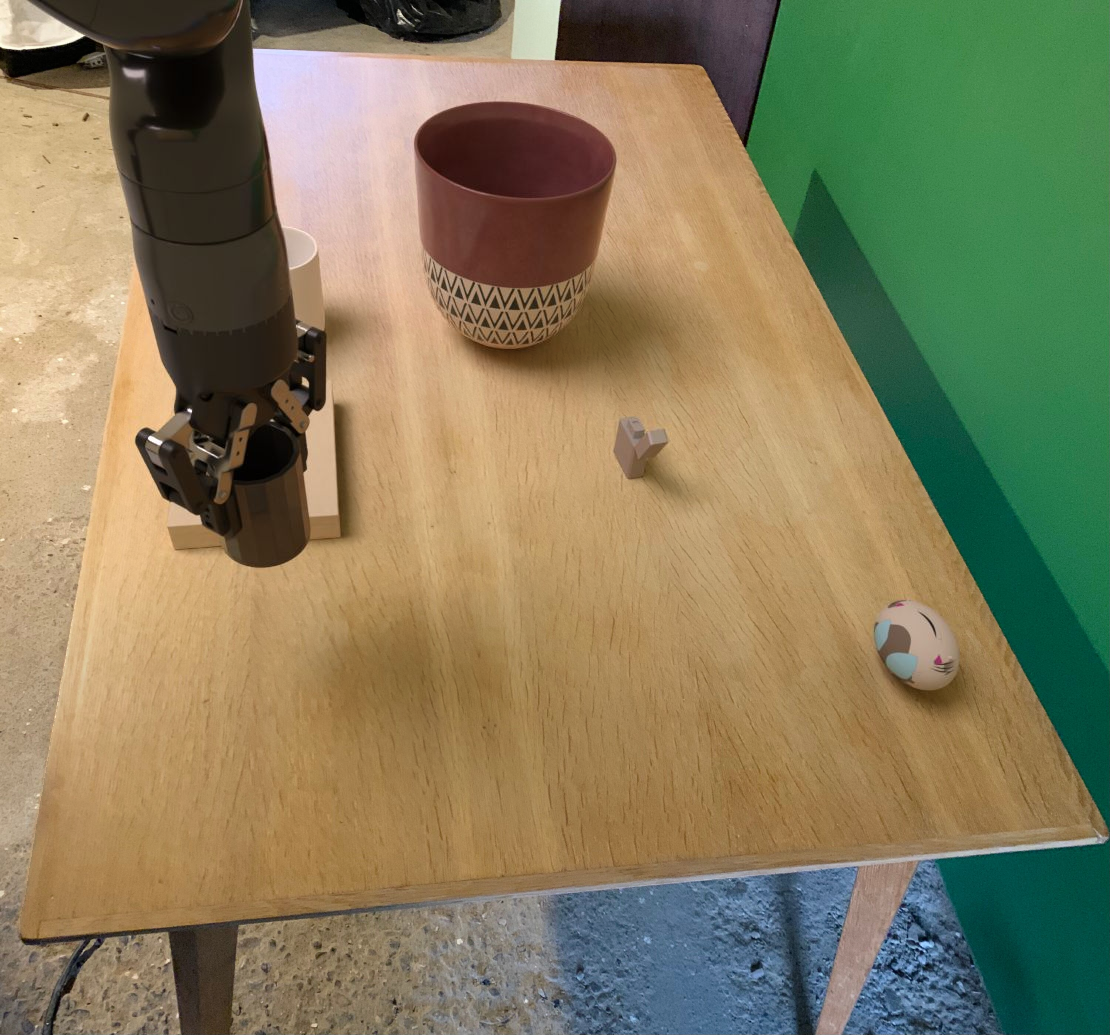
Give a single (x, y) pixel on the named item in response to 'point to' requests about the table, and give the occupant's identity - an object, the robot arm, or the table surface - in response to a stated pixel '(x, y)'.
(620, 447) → the grey blocky piece
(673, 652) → the table surface
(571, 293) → the planter
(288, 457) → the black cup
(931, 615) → the figurine
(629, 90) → the table surface
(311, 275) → the cup
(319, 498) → the plate
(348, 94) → the table surface
